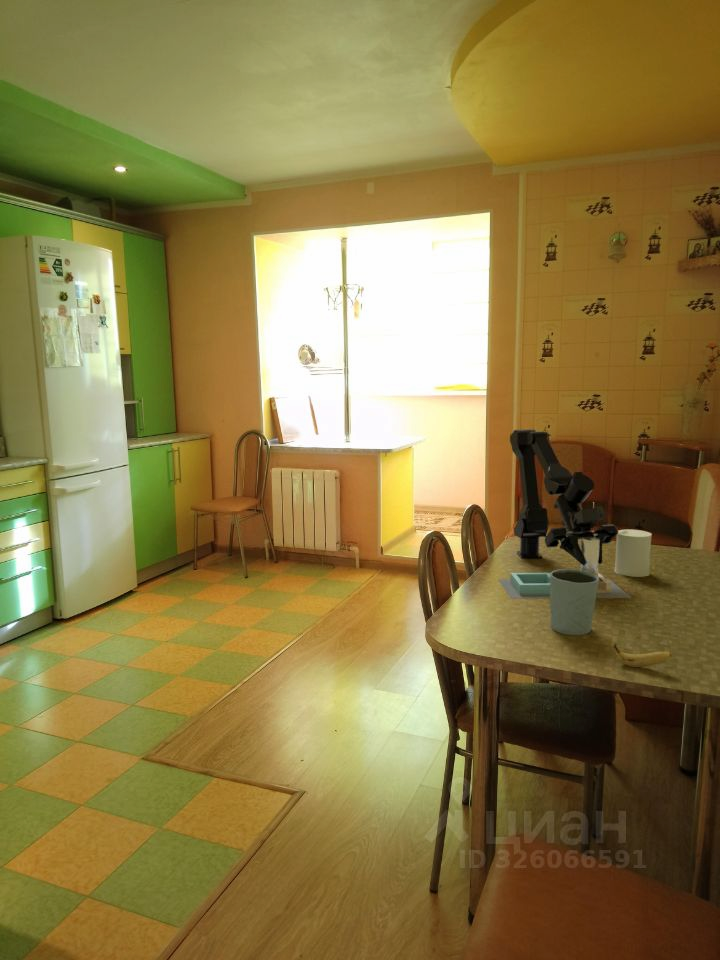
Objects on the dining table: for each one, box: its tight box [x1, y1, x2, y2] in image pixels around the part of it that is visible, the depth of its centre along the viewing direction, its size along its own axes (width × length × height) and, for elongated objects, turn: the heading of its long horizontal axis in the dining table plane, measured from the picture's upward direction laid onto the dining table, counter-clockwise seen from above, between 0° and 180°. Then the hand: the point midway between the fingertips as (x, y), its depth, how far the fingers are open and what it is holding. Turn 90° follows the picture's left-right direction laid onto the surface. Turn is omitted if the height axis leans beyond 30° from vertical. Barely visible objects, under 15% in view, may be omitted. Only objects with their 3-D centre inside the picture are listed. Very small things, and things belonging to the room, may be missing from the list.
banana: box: [613, 642, 672, 668], centre depth 125 cm, size 10×2×4 cm, turn 63°
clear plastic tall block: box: [579, 537, 600, 577], centre depth 172 cm, size 4×4×13 cm
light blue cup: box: [549, 568, 599, 636], centre depth 145 cm, size 10×10×12 cm
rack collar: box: [509, 572, 551, 595], centre depth 172 cm, size 10×10×2 cm
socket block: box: [597, 572, 611, 593], centre depth 172 cm, size 8×8×2 cm
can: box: [614, 528, 653, 578], centre depth 185 cm, size 9×9×12 cm
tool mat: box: [497, 577, 632, 600], centre depth 172 cm, size 16×30×1 cm, turn 90°
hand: (592, 563), depth 170 cm, fingers closed on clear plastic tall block, 4 cm apart
